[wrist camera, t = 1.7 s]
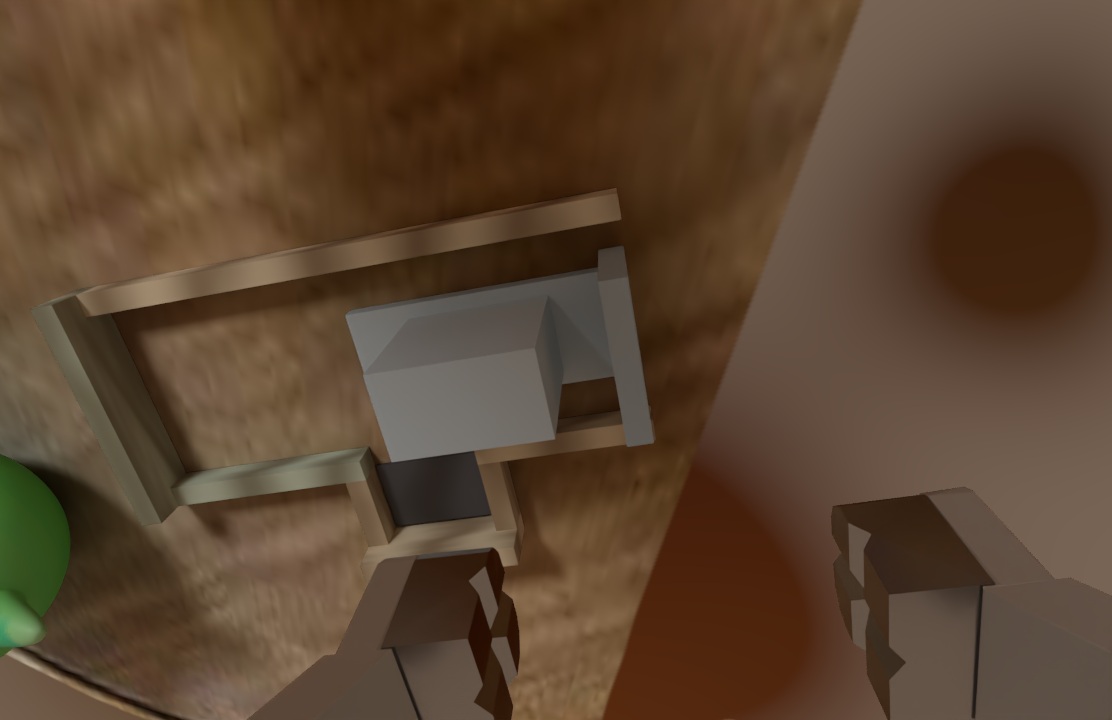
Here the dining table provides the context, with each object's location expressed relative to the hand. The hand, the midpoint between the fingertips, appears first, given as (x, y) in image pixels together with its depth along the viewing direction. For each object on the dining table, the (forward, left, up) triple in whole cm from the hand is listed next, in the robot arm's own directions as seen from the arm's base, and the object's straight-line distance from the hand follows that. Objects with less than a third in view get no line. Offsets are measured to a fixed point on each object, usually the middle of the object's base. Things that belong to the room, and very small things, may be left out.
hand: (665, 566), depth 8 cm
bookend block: (-2, -12, -33) cm, 35 cm away
